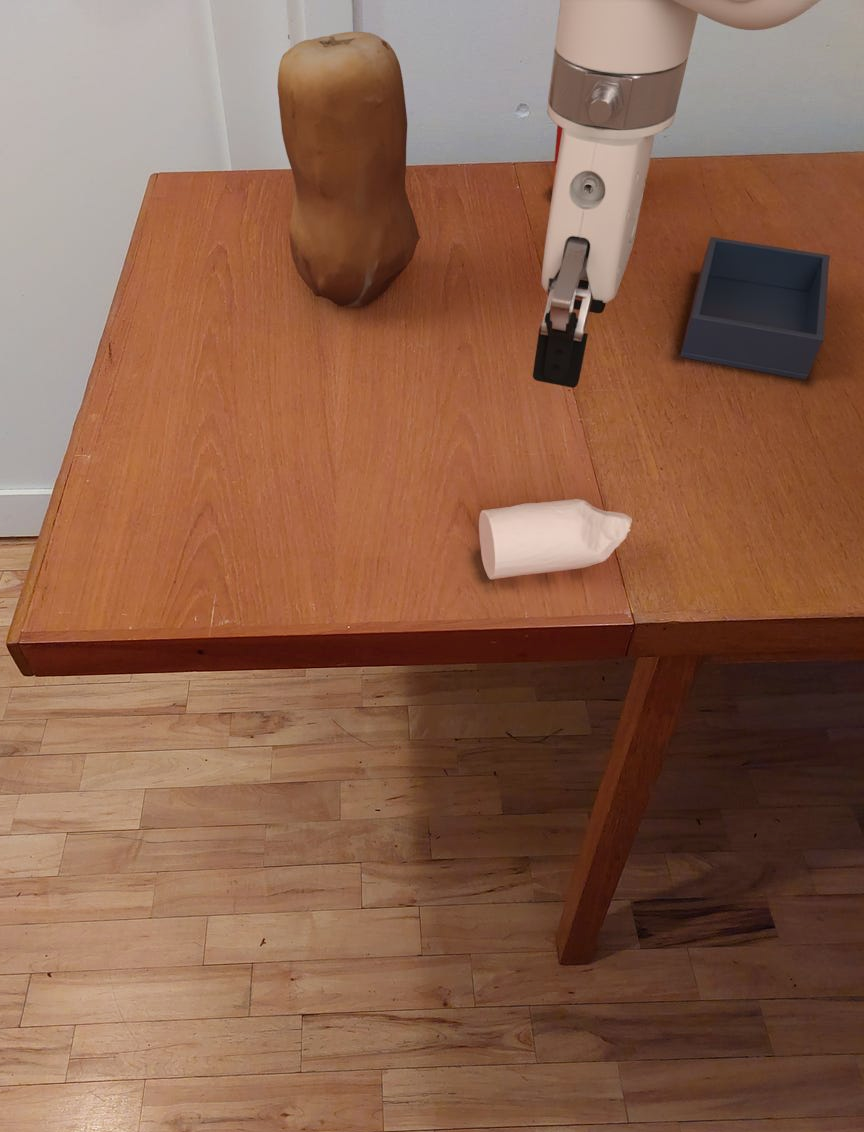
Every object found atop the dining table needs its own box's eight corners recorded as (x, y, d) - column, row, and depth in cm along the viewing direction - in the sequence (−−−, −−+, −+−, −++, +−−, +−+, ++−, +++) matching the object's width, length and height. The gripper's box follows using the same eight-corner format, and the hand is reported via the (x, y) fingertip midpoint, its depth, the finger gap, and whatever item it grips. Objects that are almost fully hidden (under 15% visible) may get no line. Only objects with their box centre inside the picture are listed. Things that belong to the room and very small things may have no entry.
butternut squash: (318, 256, 104) (300, 4, 84) (429, 273, 101) (438, 16, 82) (276, 321, 96) (246, 58, 76) (396, 340, 93) (398, 74, 74)
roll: (635, 578, 72) (651, 528, 68) (491, 594, 71) (497, 545, 67) (613, 526, 76) (627, 476, 72) (476, 541, 75) (481, 491, 71)
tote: (806, 380, 88) (823, 339, 85) (679, 357, 91) (691, 316, 87) (813, 294, 98) (829, 254, 94) (699, 276, 100) (710, 236, 97)
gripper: (657, 158, 46) (597, 425, 60) (698, 41, 56) (639, 292, 70) (516, 139, 48) (489, 403, 61) (580, 28, 58) (545, 276, 71)
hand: (569, 343), depth 65 cm, fingers open, 9 cm apart
